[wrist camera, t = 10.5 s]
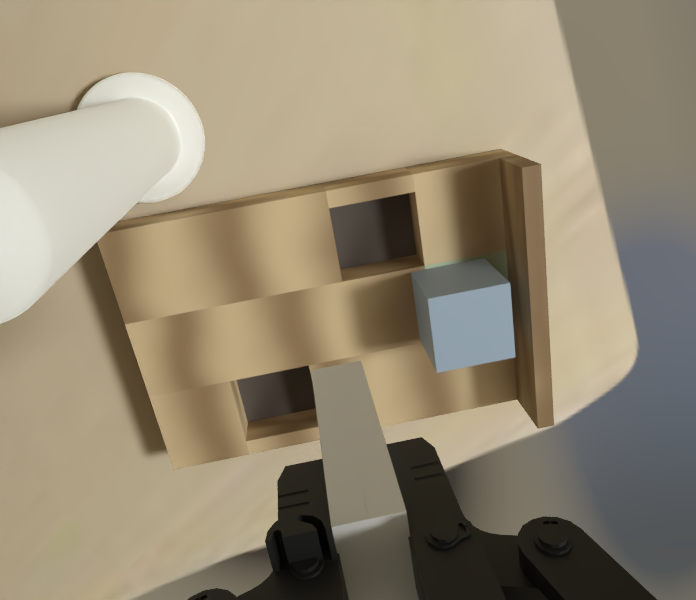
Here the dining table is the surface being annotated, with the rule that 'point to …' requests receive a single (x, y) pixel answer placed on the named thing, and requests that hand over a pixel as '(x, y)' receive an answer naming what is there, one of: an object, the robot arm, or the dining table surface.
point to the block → (464, 314)
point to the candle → (88, 177)
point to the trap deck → (326, 301)
